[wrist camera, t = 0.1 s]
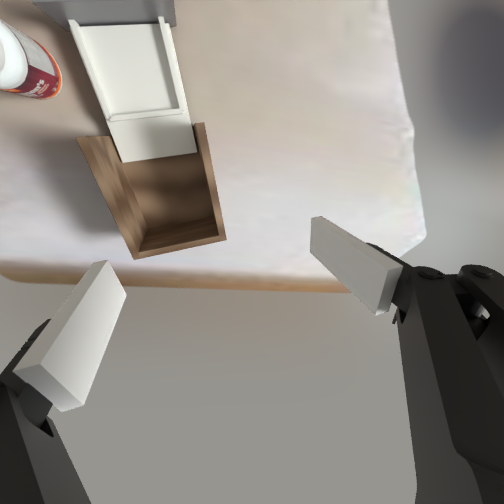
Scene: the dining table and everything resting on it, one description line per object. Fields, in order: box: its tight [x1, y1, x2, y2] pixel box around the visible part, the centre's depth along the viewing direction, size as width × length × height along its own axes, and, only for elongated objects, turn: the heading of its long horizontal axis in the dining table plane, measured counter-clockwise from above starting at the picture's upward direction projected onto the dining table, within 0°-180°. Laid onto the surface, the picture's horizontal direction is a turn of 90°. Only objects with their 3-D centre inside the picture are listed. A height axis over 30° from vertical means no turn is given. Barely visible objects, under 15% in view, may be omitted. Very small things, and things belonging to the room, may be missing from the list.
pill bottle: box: [0, 19, 62, 99], centre depth 22 cm, size 6×6×11 cm
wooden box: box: [76, 122, 227, 260], centre depth 32 cm, size 16×14×10 cm
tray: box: [32, 0, 197, 163], centre depth 27 cm, size 16×13×6 cm
